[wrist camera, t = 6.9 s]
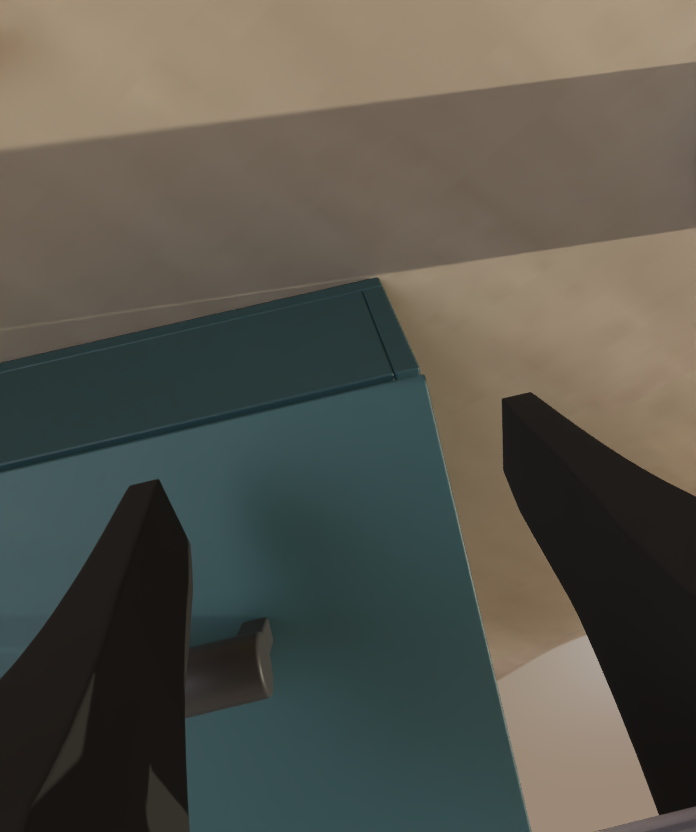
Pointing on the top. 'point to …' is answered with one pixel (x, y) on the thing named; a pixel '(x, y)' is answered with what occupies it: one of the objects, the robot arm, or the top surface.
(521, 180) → the top surface
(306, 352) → the bin
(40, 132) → the top surface
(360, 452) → the bin lid
